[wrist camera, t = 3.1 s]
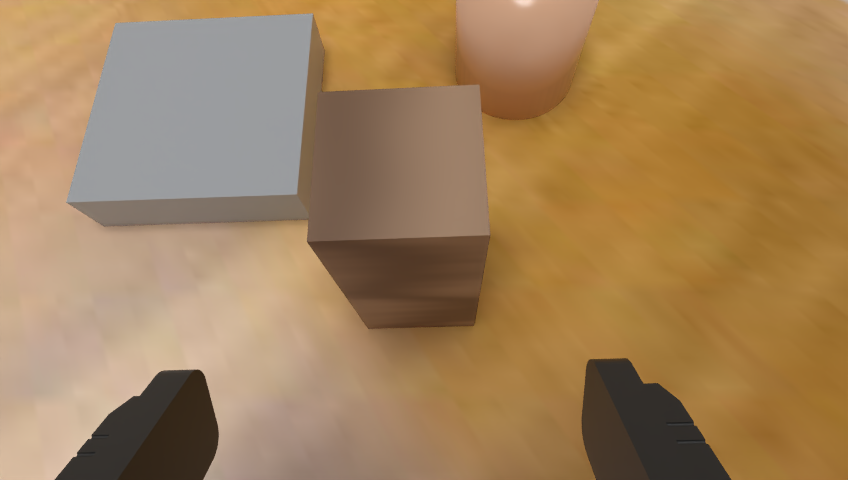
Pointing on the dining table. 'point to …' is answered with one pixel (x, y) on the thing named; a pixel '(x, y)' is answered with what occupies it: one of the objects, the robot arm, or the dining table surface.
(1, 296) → the dining table surface
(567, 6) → the pink smooth domed block
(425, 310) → the walnut block
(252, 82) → the plinth
